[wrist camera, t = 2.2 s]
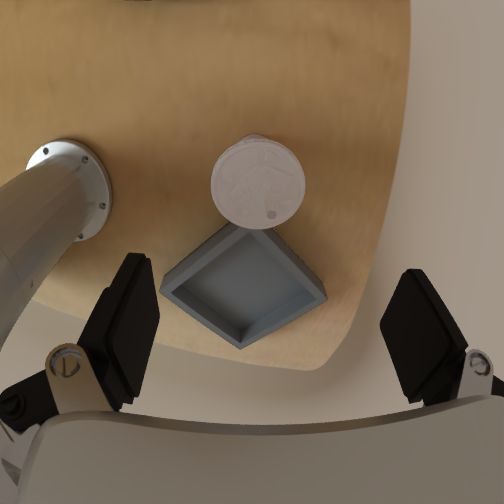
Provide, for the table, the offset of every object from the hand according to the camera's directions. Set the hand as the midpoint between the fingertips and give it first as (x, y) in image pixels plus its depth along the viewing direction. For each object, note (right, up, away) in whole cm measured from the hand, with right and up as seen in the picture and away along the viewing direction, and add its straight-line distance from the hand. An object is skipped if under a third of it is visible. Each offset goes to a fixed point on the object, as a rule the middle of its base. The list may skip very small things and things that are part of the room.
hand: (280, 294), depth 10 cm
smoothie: (-1, +11, +17) cm, 20 cm away
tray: (-2, -2, +25) cm, 25 cm away
